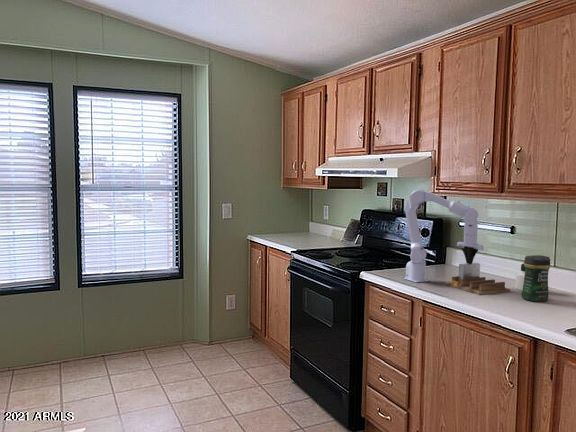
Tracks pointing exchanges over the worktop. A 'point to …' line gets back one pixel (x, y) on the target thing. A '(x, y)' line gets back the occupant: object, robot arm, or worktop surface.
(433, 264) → the worktop surface
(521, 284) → the medicine bottle
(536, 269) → the coffee jar
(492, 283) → the slot rack
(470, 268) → the grey brushed metal block
